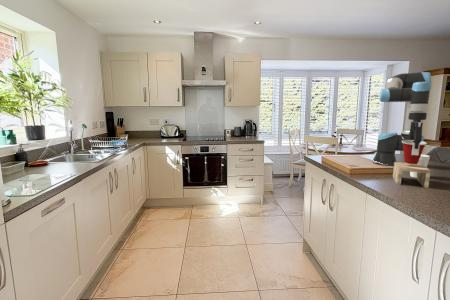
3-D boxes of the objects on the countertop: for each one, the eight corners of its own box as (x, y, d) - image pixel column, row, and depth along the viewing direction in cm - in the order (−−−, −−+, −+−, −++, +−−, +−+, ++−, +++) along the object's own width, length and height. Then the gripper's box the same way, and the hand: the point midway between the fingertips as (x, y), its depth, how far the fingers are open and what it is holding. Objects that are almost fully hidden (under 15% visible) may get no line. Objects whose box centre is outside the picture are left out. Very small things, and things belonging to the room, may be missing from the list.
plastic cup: (401, 164, 132) (404, 142, 130) (397, 160, 141) (399, 139, 139) (426, 166, 127) (429, 143, 125) (420, 161, 137) (423, 140, 135)
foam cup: (426, 179, 141) (430, 157, 139) (406, 176, 146) (409, 155, 144) (426, 176, 148) (429, 155, 146) (407, 173, 154) (409, 153, 152)
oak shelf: (392, 176, 146) (394, 161, 145) (419, 179, 140) (421, 164, 139) (397, 184, 130) (399, 167, 129) (428, 187, 125) (430, 170, 123)
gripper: (405, 112, 142) (400, 150, 145) (413, 112, 121) (408, 156, 125) (421, 112, 138) (416, 151, 142) (433, 112, 118) (426, 157, 121)
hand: (412, 153), depth 133 cm, fingers closed on plastic cup, 11 cm apart
